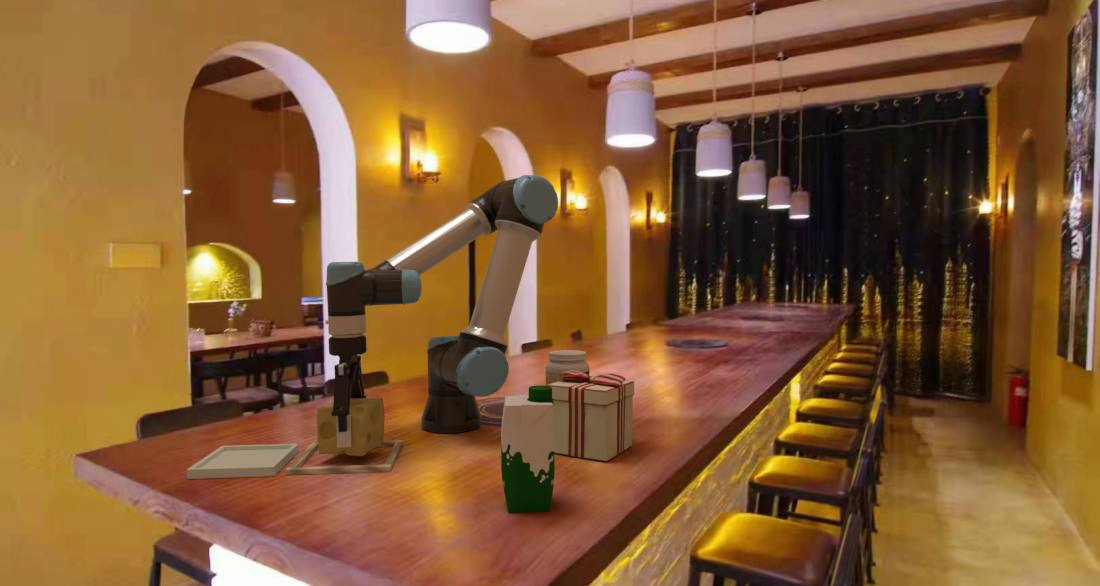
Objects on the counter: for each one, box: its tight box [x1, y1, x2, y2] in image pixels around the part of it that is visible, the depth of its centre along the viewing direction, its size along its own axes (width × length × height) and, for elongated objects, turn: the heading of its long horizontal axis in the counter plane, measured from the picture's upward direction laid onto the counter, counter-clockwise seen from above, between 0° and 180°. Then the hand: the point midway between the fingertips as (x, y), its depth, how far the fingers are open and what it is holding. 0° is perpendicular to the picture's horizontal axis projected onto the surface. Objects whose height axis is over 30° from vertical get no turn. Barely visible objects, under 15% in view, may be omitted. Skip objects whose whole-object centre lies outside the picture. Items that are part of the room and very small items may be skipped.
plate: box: [186, 443, 300, 480], centre depth 128 cm, size 16×16×2 cm
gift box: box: [545, 370, 635, 462], centre depth 140 cm, size 17×18×17 cm
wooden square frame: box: [284, 439, 404, 476], centre depth 132 cm, size 20×19×1 cm
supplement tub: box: [545, 349, 591, 386], centre depth 172 cm, size 12×12×17 cm
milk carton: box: [500, 384, 556, 514], centre depth 106 cm, size 9×9×20 cm
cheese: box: [316, 397, 385, 457], centre depth 132 cm, size 10×11×10 cm
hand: (350, 438), depth 132 cm, fingers closed on cheese, 11 cm apart
